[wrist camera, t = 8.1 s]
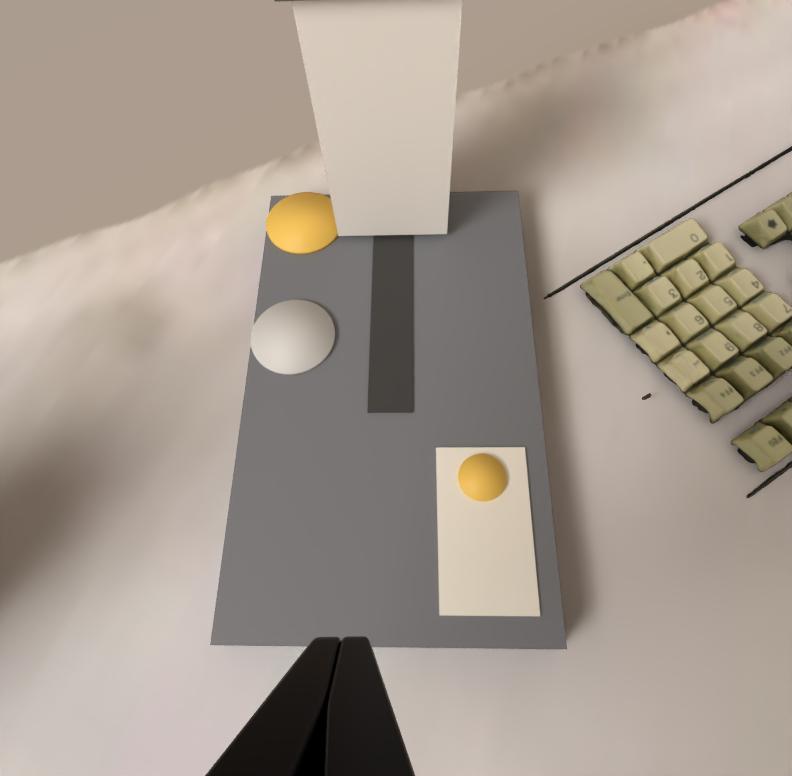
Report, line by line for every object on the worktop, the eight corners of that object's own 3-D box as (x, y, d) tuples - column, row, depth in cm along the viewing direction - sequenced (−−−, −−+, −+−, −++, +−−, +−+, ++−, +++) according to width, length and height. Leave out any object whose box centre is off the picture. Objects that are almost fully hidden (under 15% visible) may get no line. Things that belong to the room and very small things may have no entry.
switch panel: (556, 648, 20) (568, 649, 18) (224, 644, 20) (207, 645, 19) (512, 205, 28) (517, 179, 27) (279, 209, 29) (271, 184, 27)
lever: (455, 240, 25) (482, -63, 15) (329, 243, 26) (262, -54, 15) (453, 178, 27) (475, -138, 16) (333, 180, 27) (276, -129, 16)
